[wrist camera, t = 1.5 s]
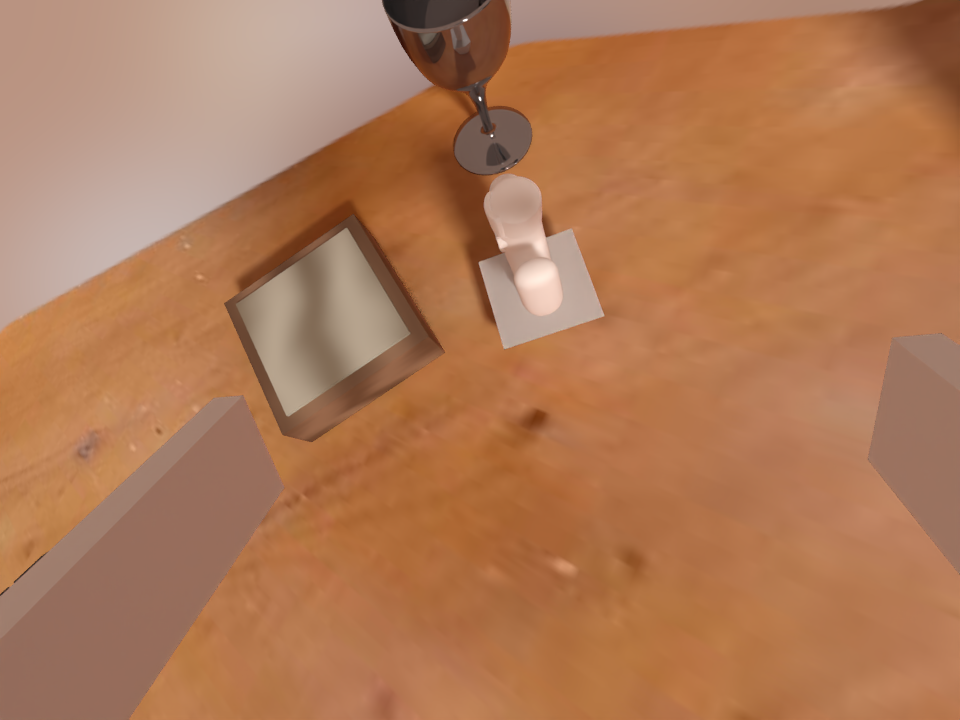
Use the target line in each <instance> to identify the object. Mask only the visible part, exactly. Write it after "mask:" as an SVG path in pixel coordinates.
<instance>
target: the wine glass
mask: <svg viewBox="0 0 960 720" xmlns="http://www.w3.org/2000/svg"><path fill="white" fill-rule="evenodd" d="M382 3H383V7H384V9H385V12H386V14H387V16H388V18H389V21H390V23H391V25H392V27H393V29H394V32H395V33H396V36H397V37H398V39H399V41H400V43H401V45H402V47H403V49H404V50H405V52H406V53H407V55H408V56H409V58H410V59H411V61H412V62H413V63H414V64H415V66H416V67H417V68H418V69H419V71H420V72H421V73H422V74H423V75H424V76H425V77H426V78H427V79H428V80H429V81H430V82H432V83H433V84H434V85H436V86H438V87H441V88H443V89H446V90H450V91H456V92H463V93H465V94H467V95H468V96H469V97H470V99H471V100H472V102H473V104H474V105H475V107H476V109H477V111H478V112H476V113H474V114H473V115H471V116H470V117H469V118H468V119H467V120H465V121H464V123H463V124H462V125H461V126H460V128H459V130H458V131H457V133H456V136H455V139H454V154H455V157H456V159H457V161H458V162H459V164H460V165H461V166H462V167H463V168H464V169H466V170H468V171H469V172H472V173H475V174H479V175H493V174H498V173H501V172H504V171H506V170H508V169H510V168H512V167H513V166H514V165H516V164H517V163H518V162H519V161H520V160H521V159H522V158H523V157H524V156H525V154H526V153H527V151H528V149H529V147H530V144H531V141H532V129H531V125H530V123H529V121H528V119H527V118H526V117H525V116H524V115H523V114H522V113H521V112H519V111H518V110H516V109H513V108H510V107H505V106H494V107H489V108H488V107H487V101H486V87H487V84H488V82H489V81H490V80H491V79H492V77H493V76H494V75H495V74H496V73H497V71H498V70H499V69H500V67H501V65H502V63H503V62H504V60H505V58H506V55H507V52H508V48H509V43H510V37H511V1H510V0H382Z"/></svg>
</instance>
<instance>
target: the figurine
mask: <svg viewBox="0 0 960 720" xmlns="http://www.w3.org/2000/svg"><path fill="white" fill-rule="evenodd" d="M484 210H485V213H486V216H487V218H488V220H489V223H490V226H491V228H492V230H493V231H494V233H495V237H496V240H497V243H498V246H499V249H500V251H501V252H505V253H502V254H499V255H497V256H494V257H491V258H488V259H486V260H483V261H480V262H478V263H479V266H480V270H481V273H482V276H483V280H484V283H485V287H486V290H487V293H488V297H489V300H490V303H491V307H492V310H493V314H494V317H495V320H496V324H497V327H498V330H499V334H500V337H501V341H502V344H503V347H504V349H507V348H510V347H513V346H516V345H519V344H522V343H525V342H528V341H531V340H534V339H537V338H540V337H543V336H546V335H549V334H552V333H555V332H558V331H561V330H564V329H567V328H570V327H573V326H576V325H579V324H582V323H585V322H588V321H591V320H594V319H597V318H600V317H603V316H604V313H603V311H602V308H601V305H600V303H599V300H598V297H597V295H596V292H595V289H594V287H593V284H592V281H591V279H590V276H589V273H588V271H587V268H586V265H585V263H584V260H583V257H582V255H581V252H580V249H579V247H578V244H577V241H576V239H575V236H574V233H573V231H572V228H571V229H569V230H566V231H563V232H560V233H558V234H555V235H552V236H549V237H546V236H545V233H544V229H543V225H542V196H541V192H540V190H539V188H538V186H537V185H536V184H535V183H534V182H533V181H531V180H530V179H528V178H525V177H518V176H516V175H514V174H503V175H501V176H499V177H497V178H496V179H495V180H494V181H493V182H492V184H491V186H490V190H489V192H488V193H487V194H486V196H485V199H484Z"/></svg>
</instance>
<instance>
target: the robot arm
mask: <svg viewBox="0 0 960 720" xmlns="http://www.w3.org/2000/svg"><path fill="white" fill-rule="evenodd" d="M868 461H869V462H870V463H871V464H872V466H873V467H874V468H875V469H876V471H877V472H878V473H879V474H880V476H881V477H882V478H883V479H884V481H885V482H886V483H887V484H888V486H889V487H890V488H891V489H892V491H893V492H894V493H895V494H896V496H897V497H898V498H899V499H900V501H901V502H902V503H903V504H904V506H905V507H906V508H907V509H908V511H909V512H910V513H911V514H912V516H913V517H914V518H915V519H916V521H917V522H918V523H919V524H920V526H921V527H922V528H923V529H924V531H925V532H926V533H927V534H928V536H929V537H930V538H931V539H932V541H933V542H934V543H935V544H936V546H937V547H938V548H939V549H940V551H941V552H942V553H943V554H944V556H945V557H946V558H947V559H948V561H949V562H950V563H951V564H952V566H953V567H954V568H955V569H956V571H957V572H958V573H959V574H960V345H958V344H957V343H955V342H954V341H952V340H951V339H949V338H948V337H946V336H945V335H943V334H942V333H939V334H928V335H917V336H905V337H894V338H892V341H891V346H890V351H889V356H888V361H887V366H886V371H885V376H884V381H883V386H882V391H881V396H880V401H879V406H878V411H877V416H876V421H875V426H874V431H873V436H872V441H871V446H870V451H869V456H868ZM283 489H284V485H283V483H282V481H281V479H280V477H279V474H278V472H277V470H276V468H275V465H274V463H273V461H272V459H271V457H270V454H269V452H268V450H267V448H266V445H265V443H264V441H263V439H262V437H261V434H260V432H259V430H258V428H257V425H256V423H255V421H254V419H253V417H252V414H251V412H250V410H249V408H248V405H247V403H246V401H245V399H244V397H243V395H242V396H231V397H220V398H213V399H212V400H211V401H210V402H209V403H208V404H207V405H206V406H205V407H204V408H203V409H202V410H200V411H199V412H198V413H197V414H196V415H195V416H194V417H193V418H192V419H191V420H190V421H189V422H188V423H186V424H185V425H184V426H183V427H182V428H181V429H180V430H179V431H178V432H177V433H176V434H175V435H173V436H172V437H171V438H170V439H169V440H168V441H167V442H166V443H165V444H164V445H163V446H162V447H161V448H159V449H158V450H157V451H156V452H155V453H154V454H153V455H152V456H151V457H150V458H149V459H148V460H147V461H145V462H144V463H143V464H142V465H141V466H140V467H139V468H138V469H137V470H136V471H135V472H134V473H133V474H131V475H130V476H129V477H128V478H127V479H126V480H125V481H124V482H123V483H122V484H121V485H120V486H119V487H117V488H116V489H115V490H114V491H113V492H112V493H111V494H110V495H109V496H108V497H107V498H106V499H105V500H103V501H102V502H101V503H100V504H99V505H98V506H97V507H96V508H95V509H94V510H93V511H92V512H91V513H89V514H88V515H87V516H86V517H85V518H84V519H83V520H82V521H81V522H80V523H79V524H78V525H77V526H75V527H74V528H73V529H72V530H71V531H70V532H69V533H68V534H67V535H66V536H65V537H64V538H63V539H61V540H60V541H59V542H58V543H57V544H56V545H55V546H54V547H53V548H52V549H51V550H50V551H48V552H47V553H46V554H44V555H43V556H41V557H40V558H39V559H38V560H37V561H36V562H35V563H34V564H33V565H32V566H30V567H29V568H28V569H27V570H26V571H25V572H24V573H23V574H22V575H21V576H20V577H19V578H18V579H16V580H15V581H14V584H13V585H12V586H11V587H8V588H7V589H6V590H5V591H3V592H2V593H1V594H0V720H129V718H130V717H131V715H132V714H133V712H134V711H135V709H136V708H137V706H138V705H139V703H140V702H141V700H142V699H143V697H144V696H145V694H146V693H147V691H148V690H149V688H150V687H151V685H152V684H153V682H154V681H155V679H156V678H157V676H158V675H159V673H160V672H161V670H162V669H163V667H164V666H165V664H166V663H167V662H168V660H169V659H170V657H171V656H172V654H173V653H174V651H175V650H176V648H177V647H178V645H179V644H180V642H181V641H182V639H183V638H184V636H185V635H186V633H187V632H188V630H189V629H190V627H191V626H192V624H193V623H194V621H195V620H196V618H197V617H198V615H199V614H200V612H201V611H202V609H203V608H204V606H205V605H206V603H207V602H208V600H209V599H210V597H211V596H212V595H213V593H214V592H215V590H216V589H217V587H218V586H219V584H220V583H221V581H222V580H223V578H224V577H225V575H226V574H227V572H228V571H229V569H230V568H231V566H232V565H233V563H234V562H235V560H236V559H237V557H238V556H239V554H240V553H241V551H242V550H243V548H244V547H245V545H246V544H247V542H248V541H249V539H250V538H251V536H252V535H253V533H254V532H255V531H256V529H257V528H258V526H259V525H260V523H261V522H262V520H263V519H264V517H265V516H266V514H267V513H268V511H269V510H270V508H271V507H272V505H273V504H274V502H275V501H276V499H277V498H278V496H279V495H280V493H281V492H282V490H283Z"/></svg>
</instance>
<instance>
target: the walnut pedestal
mask: <svg viewBox="0 0 960 720" xmlns="http://www.w3.org/2000/svg"><path fill="white" fill-rule="evenodd" d="M224 304H225V306H226V308H227V311H228V313H229V315H230V317H231V320H232V322H233V324H234V326H235V329H236V331H237V333H238V335H239V338H240V340H241V342H242V344H243V347H244V349H245V351H246V354H247V356H248V358H249V360H250V363H251V365H252V367H253V369H254V372H255V374H256V376H257V378H258V381H259V383H260V385H261V387H262V390H263V392H264V394H265V396H266V399H267V401H268V403H269V405H270V408H271V410H272V412H273V414H274V417H275V419H276V421H277V423H278V426H279V428H280V430H281V432H282V435H284V436H289V437H293V438H297V439H301V440H305V441H309V442H313V441H314V440H316V439H317V438H319V437H320V436H322V435H323V434H325V433H326V432H328V431H329V430H330V429H332V428H333V427H335V426H336V425H338V424H339V423H341V422H342V421H344V420H345V419H347V418H348V417H350V416H351V415H353V414H354V413H356V412H357V411H359V410H360V409H362V408H363V407H365V406H366V405H368V404H369V403H371V402H372V401H374V400H375V399H377V398H378V397H380V396H381V395H383V394H384V393H385V392H387V391H388V390H390V389H391V388H393V387H394V386H396V385H397V384H399V383H400V382H402V381H403V380H405V379H406V378H408V377H409V376H411V375H412V374H414V373H415V372H417V371H418V370H420V369H421V368H423V367H424V366H426V365H427V364H429V363H430V362H432V361H433V360H435V359H436V358H438V357H439V356H441V355H442V354H443V353H445V352H444V350H443V349H442V347H441V345H440V344H439V342H438V340H437V339H436V337H435V336H434V334H433V332H432V331H431V329H430V328H429V326H428V324H427V323H426V321H425V319H424V318H423V316H422V315H421V313H420V311H419V310H418V308H417V307H416V305H415V303H414V302H413V300H412V298H411V297H410V295H409V294H408V292H407V290H406V289H405V287H404V286H403V284H402V282H401V281H400V279H399V277H398V276H397V274H396V273H395V271H394V269H393V268H392V266H391V265H390V263H389V261H388V260H387V258H386V256H385V255H384V253H383V252H382V250H381V248H380V247H379V245H378V244H377V242H376V240H375V239H374V237H373V236H372V235H371V234H370V233H369V232H368V230H367V229H366V228H365V227H364V226H363V225H362V223H361V222H360V221H359V220H358V219H357V218H356V216H355V215H354V214H353V215H351V216H350V217H348V218H347V219H345V220H344V221H343V222H341V223H340V224H338V225H337V226H335V227H334V228H332V229H331V230H330V231H328V232H327V233H325V234H324V235H322V236H321V237H319V238H318V239H317V240H315V241H314V242H312V243H311V244H309V245H308V246H306V247H305V248H304V249H302V250H301V251H299V252H298V253H296V254H295V255H293V256H292V257H291V258H289V259H288V260H286V261H285V262H283V263H282V264H280V265H279V266H278V267H276V268H275V269H273V270H272V271H270V272H269V273H267V274H266V275H265V276H263V277H262V278H260V279H259V280H257V281H256V282H254V283H253V284H252V285H250V286H249V287H247V288H246V289H244V290H243V291H241V292H240V293H239V294H237V295H236V296H234V297H233V298H231V299H230V300H228V301H227V302H226V303H224Z"/></svg>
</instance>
